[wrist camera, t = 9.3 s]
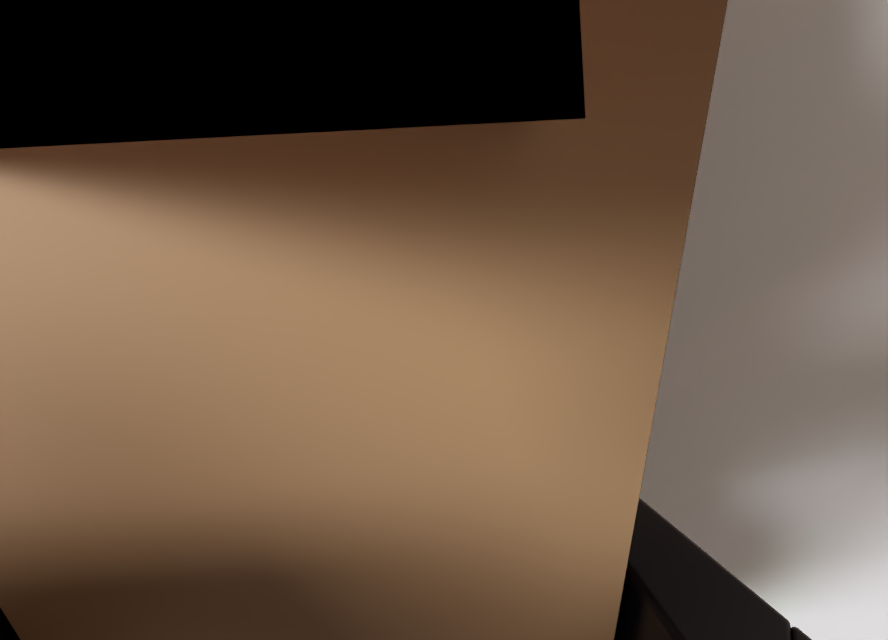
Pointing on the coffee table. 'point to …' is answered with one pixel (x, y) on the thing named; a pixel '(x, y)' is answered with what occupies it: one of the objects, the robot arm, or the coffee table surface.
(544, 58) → the block
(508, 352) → the pallet
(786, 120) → the coffee table surface
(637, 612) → the robot arm
